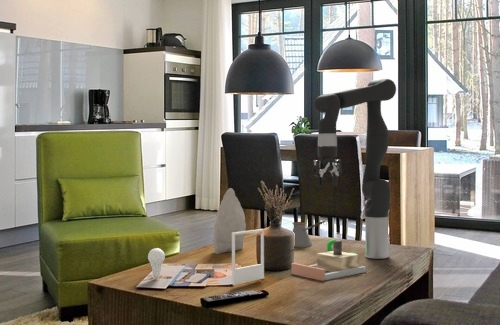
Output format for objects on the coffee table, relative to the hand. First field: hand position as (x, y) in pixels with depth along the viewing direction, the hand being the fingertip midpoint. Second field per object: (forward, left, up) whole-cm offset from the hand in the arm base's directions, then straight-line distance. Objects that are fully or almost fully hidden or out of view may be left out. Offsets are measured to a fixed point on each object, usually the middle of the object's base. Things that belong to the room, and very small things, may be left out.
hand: (327, 186), depth 241 cm
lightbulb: (+62, -27, -32) cm, 75 cm away
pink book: (+8, +8, -32) cm, 34 cm away
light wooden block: (+3, +8, -32) cm, 33 cm away
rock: (+13, -47, -32) cm, 58 cm away
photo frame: (+40, -1, -32) cm, 51 cm away
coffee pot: (-20, -31, -32) cm, 49 cm away
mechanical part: (-19, -9, -33) cm, 39 cm away
